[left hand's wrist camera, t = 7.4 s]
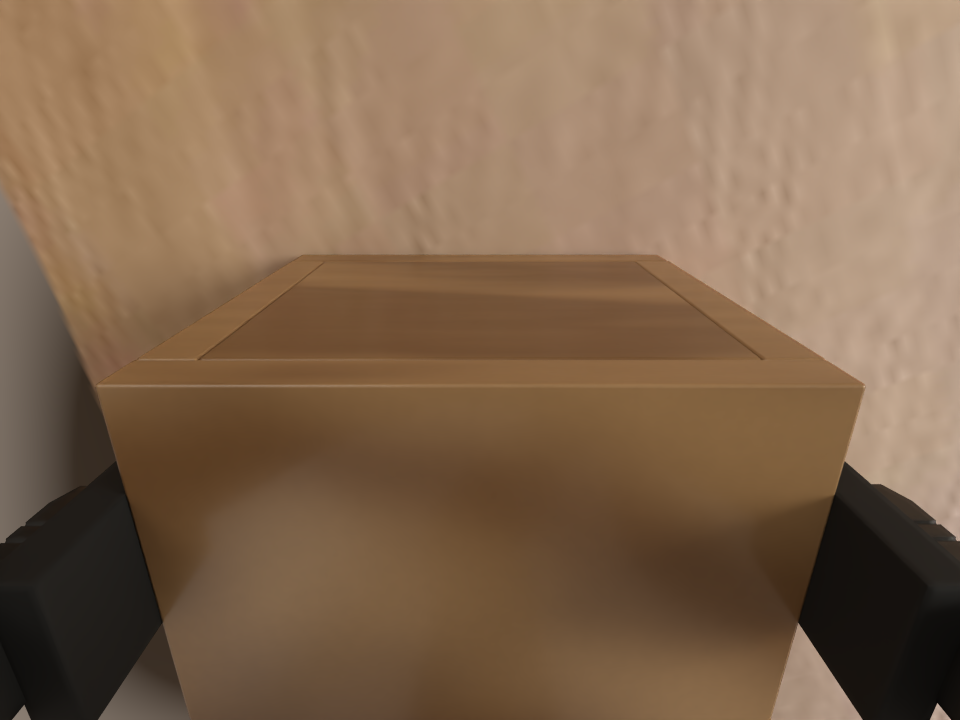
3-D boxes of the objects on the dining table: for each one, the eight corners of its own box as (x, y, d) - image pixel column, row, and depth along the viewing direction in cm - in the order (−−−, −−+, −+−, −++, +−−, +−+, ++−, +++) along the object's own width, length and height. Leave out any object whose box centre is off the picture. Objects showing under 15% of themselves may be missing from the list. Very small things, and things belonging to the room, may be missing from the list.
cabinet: (611, 649, 23) (697, 980, 14) (348, 650, 23) (263, 981, 14) (658, 254, 17) (869, 384, 8) (301, 254, 17) (91, 384, 8)
